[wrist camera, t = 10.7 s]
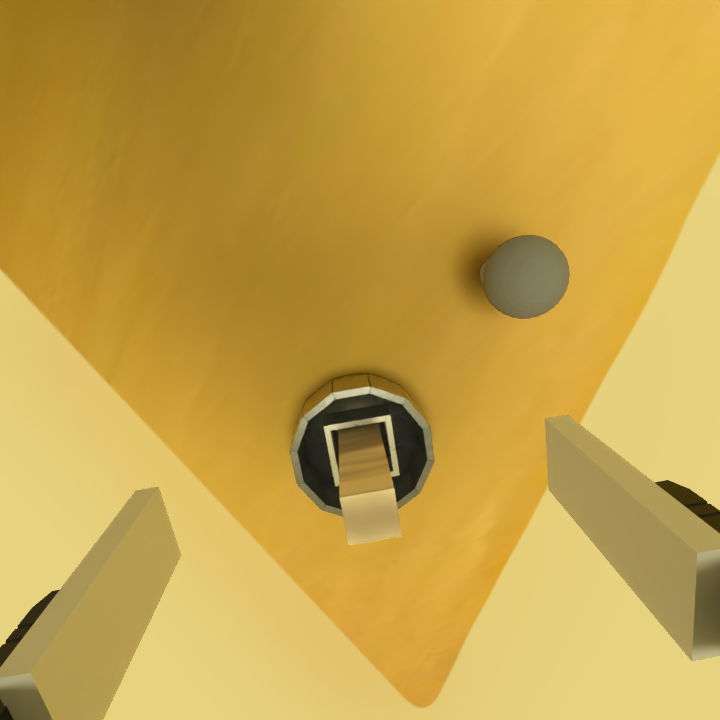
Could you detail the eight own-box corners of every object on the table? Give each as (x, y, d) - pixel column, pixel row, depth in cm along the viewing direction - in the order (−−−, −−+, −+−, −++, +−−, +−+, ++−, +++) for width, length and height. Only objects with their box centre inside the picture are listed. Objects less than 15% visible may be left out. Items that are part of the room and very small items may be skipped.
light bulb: (476, 318, 41) (520, 340, 31) (447, 259, 40) (484, 262, 30) (536, 285, 40) (599, 297, 31) (509, 224, 39) (566, 216, 29)
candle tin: (285, 386, 41) (279, 402, 37) (414, 363, 42) (423, 377, 37) (309, 501, 44) (306, 529, 40) (430, 480, 44) (440, 505, 40)
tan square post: (338, 423, 42) (339, 497, 29) (376, 416, 42) (394, 488, 29) (344, 458, 43) (348, 545, 30) (382, 451, 43) (401, 536, 30)
